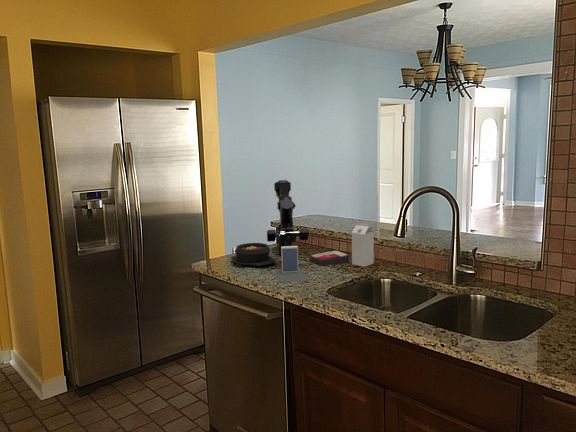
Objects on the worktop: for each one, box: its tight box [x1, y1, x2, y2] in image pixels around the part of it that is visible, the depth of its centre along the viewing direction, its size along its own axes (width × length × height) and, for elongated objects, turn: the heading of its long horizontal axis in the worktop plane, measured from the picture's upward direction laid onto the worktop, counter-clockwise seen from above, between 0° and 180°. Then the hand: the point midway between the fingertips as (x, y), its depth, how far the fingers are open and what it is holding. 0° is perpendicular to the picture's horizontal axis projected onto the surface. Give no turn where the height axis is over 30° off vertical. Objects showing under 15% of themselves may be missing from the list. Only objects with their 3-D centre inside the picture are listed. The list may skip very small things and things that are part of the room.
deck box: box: [280, 245, 299, 273], centre depth 208 cm, size 3×7×11 cm, turn 93°
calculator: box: [309, 250, 350, 267], centre depth 225 cm, size 11×4×15 cm
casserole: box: [230, 242, 277, 267], centre depth 226 cm, size 25×19×8 cm
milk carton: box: [351, 222, 375, 268], centre depth 218 cm, size 7×7×19 cm
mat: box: [275, 267, 308, 283], centre depth 204 cm, size 20×12×1 cm, turn 4°
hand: (289, 250), depth 212 cm, fingers closed
